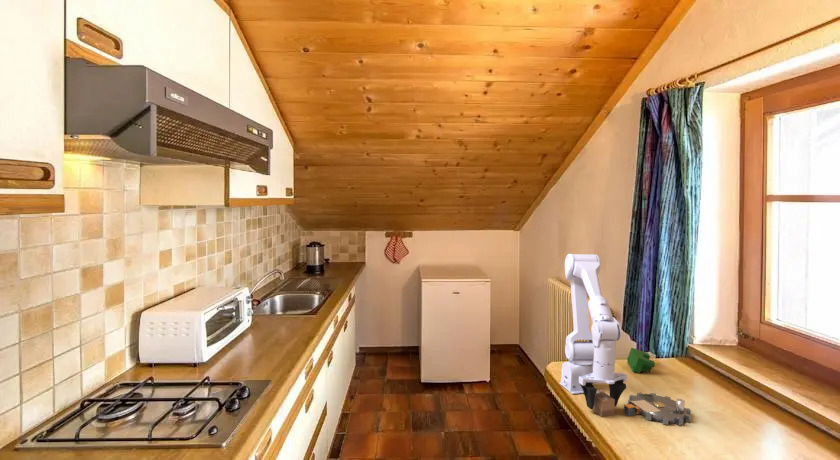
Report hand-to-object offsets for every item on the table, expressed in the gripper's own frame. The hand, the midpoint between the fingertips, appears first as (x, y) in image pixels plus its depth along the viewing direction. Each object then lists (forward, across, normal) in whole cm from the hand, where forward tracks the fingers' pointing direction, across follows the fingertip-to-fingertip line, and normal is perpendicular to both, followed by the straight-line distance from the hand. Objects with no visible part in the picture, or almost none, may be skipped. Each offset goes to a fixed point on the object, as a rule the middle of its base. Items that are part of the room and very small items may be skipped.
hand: (601, 406), depth 125 cm
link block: (+2, 0, 0) cm, 2 cm away
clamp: (+2, +34, +25) cm, 43 cm away
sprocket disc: (+2, +17, -3) cm, 17 cm away
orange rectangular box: (+2, +7, -3) cm, 8 cm away
